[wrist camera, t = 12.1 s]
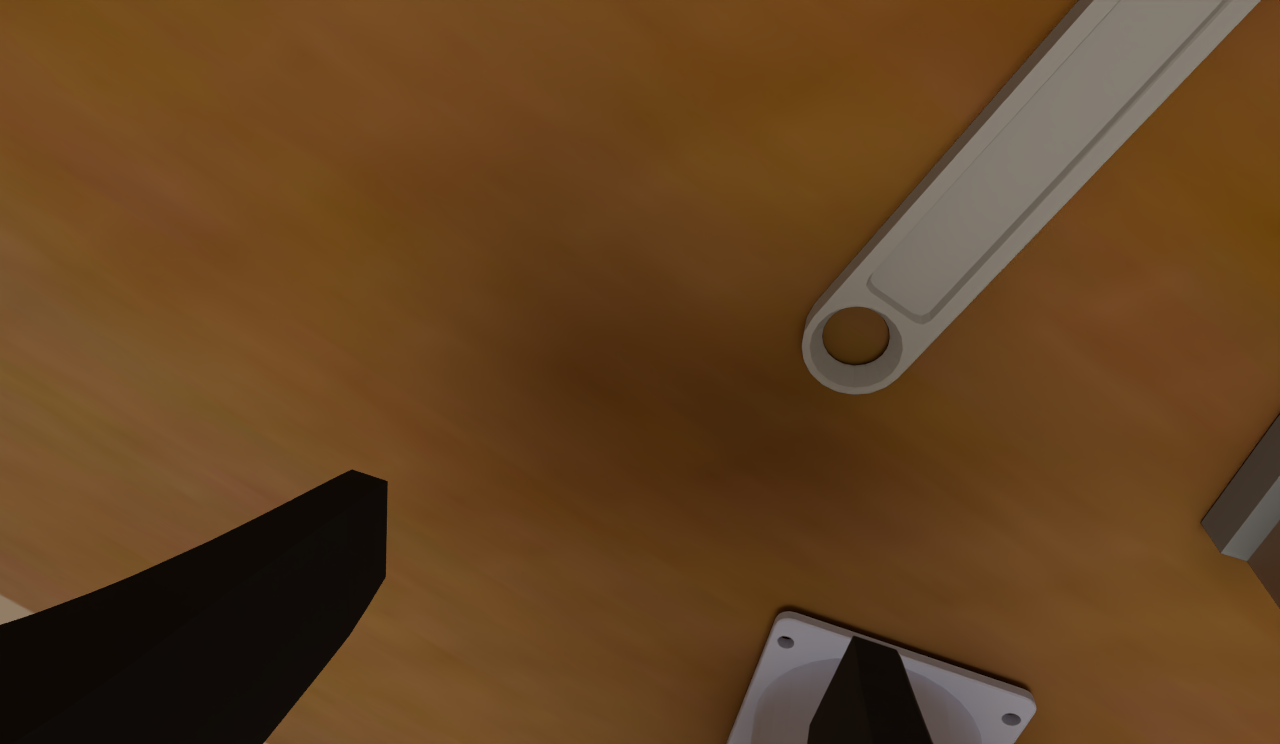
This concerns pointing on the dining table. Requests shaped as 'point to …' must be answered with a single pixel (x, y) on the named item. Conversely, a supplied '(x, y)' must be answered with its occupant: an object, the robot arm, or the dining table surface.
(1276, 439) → the stand
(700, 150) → the dining table surface
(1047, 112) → the adjustable wrench
